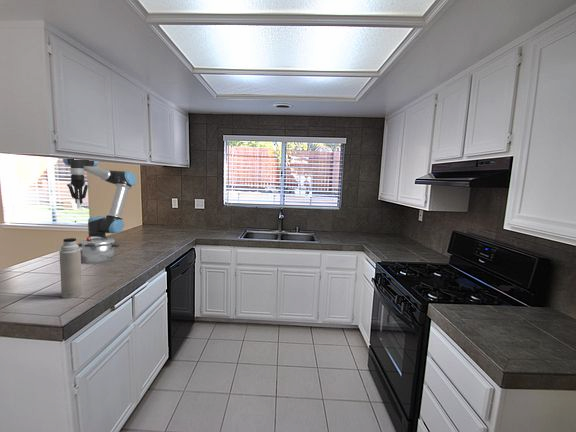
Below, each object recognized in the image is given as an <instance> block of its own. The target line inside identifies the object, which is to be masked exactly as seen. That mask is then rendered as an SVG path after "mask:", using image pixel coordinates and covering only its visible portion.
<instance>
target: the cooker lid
mask: <svg viewBox="0 0 576 432" xmlns="http://www.w3.org/2000/svg"><path fill="white" fill-rule="evenodd" d="M85 238H86V240H85V239H83V240H81V241H80V242H81V244H82V245H85V247H93V246H101V245H108V244H112V243H114V244H115V242H116V241H115V239H114V238H111V237H107V238H93V239H91V237H85Z"/></svg>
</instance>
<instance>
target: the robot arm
mask: <svg viewBox="0 0 576 432" xmlns="http://www.w3.org/2000/svg"><path fill="white" fill-rule="evenodd" d="M62 161H63V163H64V165H66V166H69V167H70V174H71V175H70V180H71V181H70V183H68V184H66V186H67V188H68V190H69V192H70V195H71V198H72V199H74V202H75V204H76V209H82V204H83V203H84V202H83V199H86V198H87V197H86V196H87V192H88V188H89V187H90V185H89V184H87V183H86V182H85V175H84V174H85V172H86V173H89V174H90V175H94V176H96V177H98V178H99V179H101V180H103V181H105V182H107V183H110V184H112V185H115V186H116V189H115V193H114V196H113V200H112V203H111V205H110V206H111V207H110V210H109V213H108V214H107V215H106V216H104V215H103V216H94V217H93V216H92V217H89V218H88V219H87V227H88V228H87V229H88V237H101V238H108V237H107V235H106V234H120V233H121V232H122V231H123V230H124V228H125V222H124V220H123V218H122V214H123V210H124V207H125V204H126V199H127V197H128V196H127V195H128V192H129V190H131V189H132V187H133V186H135V185H136V183H137V178H136V175H135V174H134V172H132V171H127V170H126V171H124V170H112V169H107V168H102V167H101V166H98V164H99V160H98V161H89V160H74V159H63V158H62Z"/></svg>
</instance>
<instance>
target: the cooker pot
mask: <svg viewBox="0 0 576 432" xmlns="http://www.w3.org/2000/svg"><path fill="white" fill-rule="evenodd" d="M76 244H77V245H78V246H79V248H81V249H82V251H81V252H82V253H81V254H82V263H83V264H86V265H101V264H107V263H111V262H114V260H115V248H119V247H120V243H115V242H114V243H112V244H108V245H101V246H93V247H85V245H82V244H81V243H80V242H79V243H76Z"/></svg>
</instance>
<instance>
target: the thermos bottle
mask: <svg viewBox="0 0 576 432" xmlns="http://www.w3.org/2000/svg"><path fill="white" fill-rule="evenodd" d="M62 244H63V245H61V247H60V250H59V267H60V269H59V270H60V271H59V272H60V289H61V291H60V292H61V298H63V299H74V298H77V297H80V296H82V294H83V282H82V261H81V260H82V257H81V256H82V255H81V254H82V253H81V252H82V251H81V249H80V247H79V246H78V245H77V244H78V243H77V238H74V237H71V238H64V239H63V243H62Z"/></svg>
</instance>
